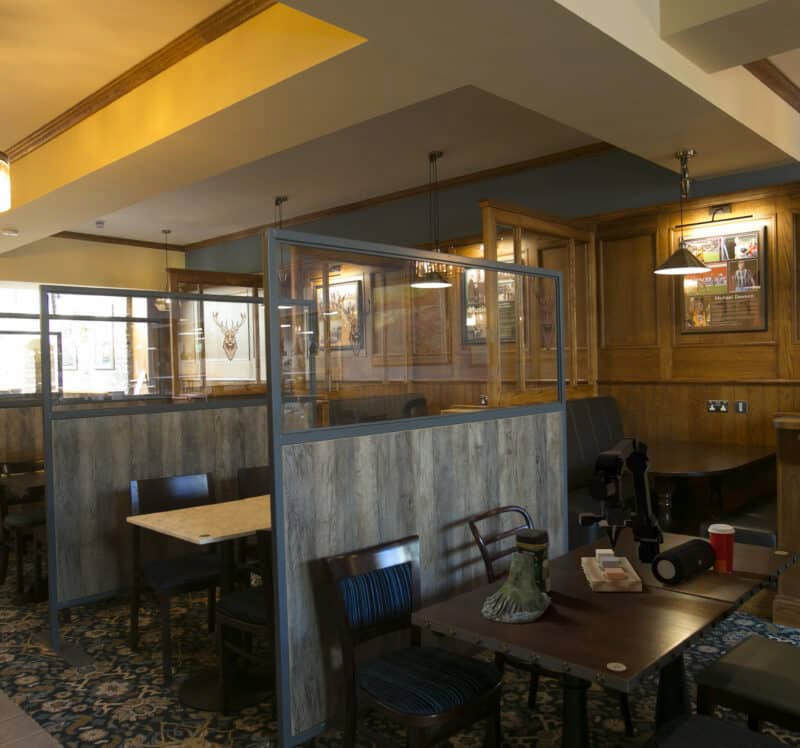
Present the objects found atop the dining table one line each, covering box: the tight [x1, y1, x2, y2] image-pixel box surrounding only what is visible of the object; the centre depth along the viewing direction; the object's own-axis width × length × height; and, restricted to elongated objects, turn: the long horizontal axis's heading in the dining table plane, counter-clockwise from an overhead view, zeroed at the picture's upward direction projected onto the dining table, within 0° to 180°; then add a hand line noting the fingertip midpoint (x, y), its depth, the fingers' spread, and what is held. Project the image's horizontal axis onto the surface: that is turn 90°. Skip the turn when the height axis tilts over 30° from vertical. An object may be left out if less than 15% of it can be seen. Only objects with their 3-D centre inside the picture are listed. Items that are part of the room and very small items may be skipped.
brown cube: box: [604, 568, 625, 580], centre depth 211 cm, size 5×5×5 cm
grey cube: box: [600, 556, 619, 571], centre depth 220 cm, size 5×5×5 cm
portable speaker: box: [650, 538, 716, 587], centre depth 217 cm, size 26×10×10 cm, turn 132°
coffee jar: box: [514, 527, 552, 594], centre depth 210 cm, size 10×8×19 cm
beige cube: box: [595, 548, 615, 563], centre depth 229 cm, size 5×5×5 cm
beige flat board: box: [581, 556, 643, 592], centre depth 220 cm, size 14×26×3 cm, turn 172°
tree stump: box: [481, 552, 552, 624], centre depth 195 cm, size 18×20×18 cm
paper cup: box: [707, 523, 736, 574], centre depth 222 cm, size 8×8×14 cm
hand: (613, 547), depth 211 cm, fingers closed
